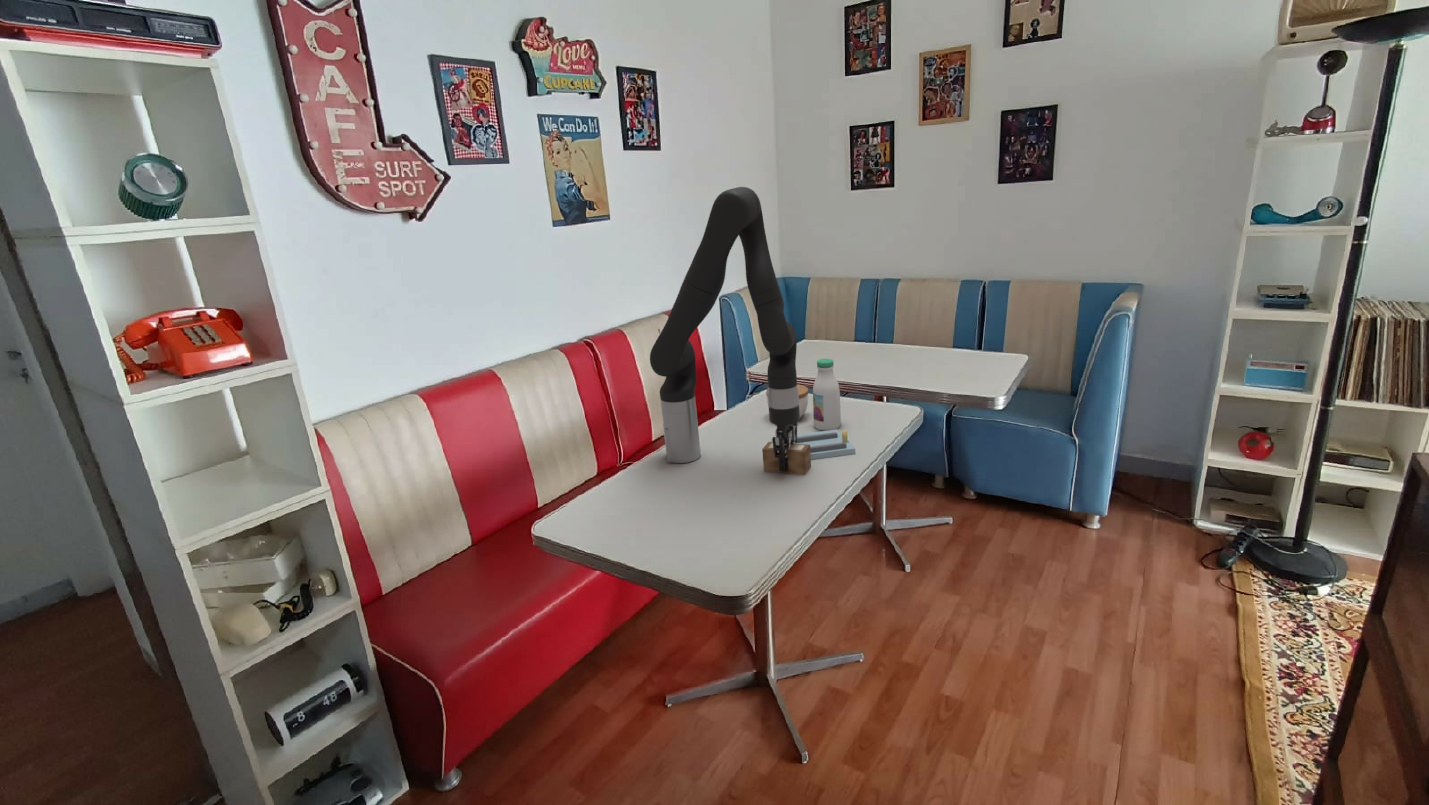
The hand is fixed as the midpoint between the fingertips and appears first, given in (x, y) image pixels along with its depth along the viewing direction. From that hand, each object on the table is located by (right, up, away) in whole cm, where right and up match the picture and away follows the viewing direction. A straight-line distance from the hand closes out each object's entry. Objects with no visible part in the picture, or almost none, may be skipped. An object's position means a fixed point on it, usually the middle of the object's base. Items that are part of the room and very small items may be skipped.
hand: (787, 466), depth 176 cm
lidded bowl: (+4, +11, +36) cm, 38 cm away
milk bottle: (+14, +9, +26) cm, 31 cm away
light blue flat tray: (+9, +4, +12) cm, 16 cm away
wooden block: (0, -1, 0) cm, 1 cm away
